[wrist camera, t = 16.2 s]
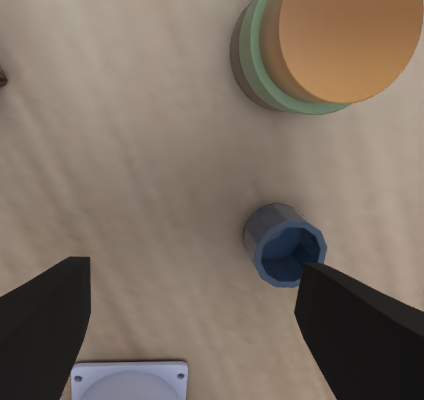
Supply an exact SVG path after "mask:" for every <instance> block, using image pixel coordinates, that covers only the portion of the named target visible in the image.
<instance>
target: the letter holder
mask: <svg viewBox="0 0 424 400" xmlns="http://www.w3.org/2000/svg"><path fill="white" fill-rule="evenodd" d="M6 82H7V79H6V77H5V76H4V74H3V73H2V71H1V70H0V86H3V85H5V84H6Z"/></svg>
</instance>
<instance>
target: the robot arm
mask: <svg viewBox="0 0 424 400" xmlns="http://www.w3.org/2000/svg"><path fill="white" fill-rule="evenodd" d="M90 314H91V282H90V257H68V258H66V259H64V260H63V261H61V262H59V263H58V264H56V265H54V266H53V267H51V268H50V269H48V270H46V271H45V272H43V273H42V274H40V275H38V276H37V277H35V278H33V279H32V280H30V281H28V282H27V283H25V284H23V285H21V286H20V287H18V288H16V289H14V290H12V291H11V292H9V293H7V294H5V295H3V296H1V297H0V400H59V399H60V397H61V395H62V392H63V390H64V387H65V385H66V382H67V380H68V378H69V375H70V373H71V394H72V400H186V389H187V377H188V365H187V363H186V362H183V361H168V362H113V363H77V364H75V365H74V363H75V361H76V358H77V356H78V353H79V351H80V348H81V346H82V343H83V341H84V337H85V333H86V330H87V326H88V322H89V318H90ZM294 314H295V317H296V320H297V322H298V325H299V328H300V330H301V333H302V336H303V338H304V340H305V342H306V344H307V346H308V348H309V350H310V352H311V353H312V355H313V357H314V359H315V361H316V363H317V364H318V366H319V368H320V370H321V372H322V374H323V375H324V377H325V379H326V381H327V383H328V384H329V386H330V388H331V390H332V392H333V394H334V395H335V397H336V399H337V400H424V312H423V311H421V310H418V309H416V308H414V307H411V306H409V305H407V304H404V303H402V302H400V301H398V300H396V299H394V298H392V297H389V296H387V295H385V294H383V293H381V292H379V291H377V290H375V289H373V288H371V287H369V286H367V285H365V284H363V283H361V282H359V281H358V280H356V279H354V278H352V277H350V276H348V275H346V274H344V273H342V272H340V271H338V270H336V269H334V268H332V267H329V266H327V265H324V264H322V263H303V268H302V274H301V279H300V284H299V290H298V295H297V300H296V306H295V311H294ZM180 373H182V375H178V374H180ZM77 376H81V377H77Z"/></svg>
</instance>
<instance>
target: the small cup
mask: <svg viewBox="0 0 424 400" xmlns="http://www.w3.org/2000/svg"><path fill="white" fill-rule="evenodd" d="M243 240H244V245H245V247H246V249H247V251H248V253H249V255H250V257H251V259H252V261H253V263H254V265H255V267H256V269H257V271H258V273H259V275H260V277H261V278H262V279H263V280H265V281H266V282H268V283H270V284H271V285H273V286H275V287H291V288H294V287H297V286H299V284H300V279H301V274H302V268H303V263H322V264H324V260H325V255H326V250H327V246H326V243H325V241H324V238H323V235H322V233H321V231H320V230H319V229H318V228H317V227H316V226H314V225H313V224H312V223H311V222H310V221H309V220H308V219H306V218H305V217H304V216H303V215H302V214H300V213H299V212H298V211H296V210H295V209H294V208H292V207H290V206H288V205H285V204H270V205H266V206H264V207H262V208H260V209H258V210H257V211H256V212H254V213H253V214H252V215H251V217H250V218H249V219H248V221H247V223H246V225H245V228H244V232H243Z"/></svg>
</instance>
